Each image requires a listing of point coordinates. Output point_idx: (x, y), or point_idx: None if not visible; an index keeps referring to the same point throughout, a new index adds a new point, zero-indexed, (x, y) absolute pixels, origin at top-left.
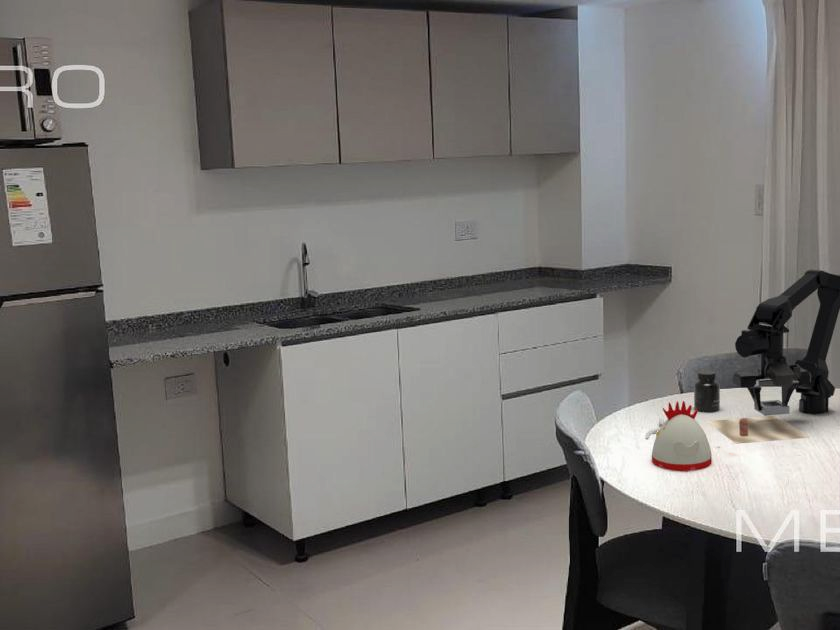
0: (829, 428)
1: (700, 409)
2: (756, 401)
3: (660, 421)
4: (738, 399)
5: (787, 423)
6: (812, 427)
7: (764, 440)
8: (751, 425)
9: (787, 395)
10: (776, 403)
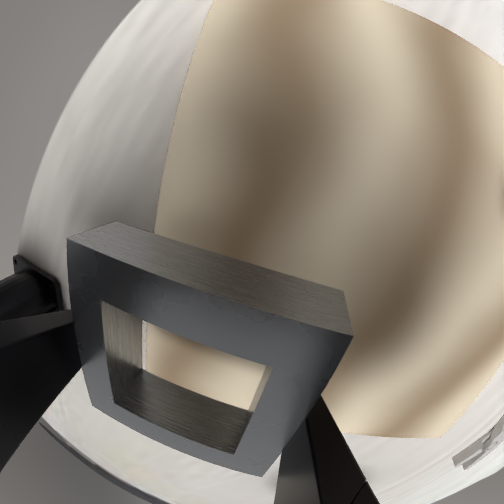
0: (48, 158)
1: None
2: (352, 466)
3: (486, 454)
4: (165, 481)
5: None
6: (78, 198)
7: (484, 59)
8: (371, 327)
9: (3, 342)
10: (119, 388)
